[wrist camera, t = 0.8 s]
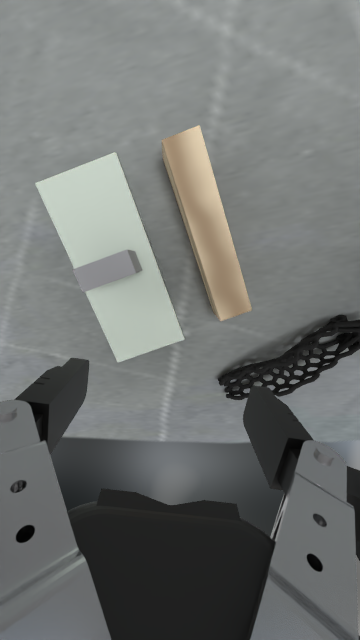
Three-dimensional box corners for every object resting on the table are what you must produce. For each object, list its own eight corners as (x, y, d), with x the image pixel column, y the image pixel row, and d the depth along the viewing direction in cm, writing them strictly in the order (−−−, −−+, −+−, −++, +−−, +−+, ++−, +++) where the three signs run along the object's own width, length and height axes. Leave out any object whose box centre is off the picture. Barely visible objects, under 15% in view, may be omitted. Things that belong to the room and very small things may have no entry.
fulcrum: (117, 155, 28) (100, 122, 21) (184, 337, 34) (187, 356, 27) (39, 185, 28) (-2, 163, 22) (119, 359, 34) (107, 384, 28)
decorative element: (227, 396, 37) (237, 422, 31) (213, 371, 36) (222, 392, 30) (362, 331, 35) (399, 346, 30) (353, 302, 34) (390, 311, 28)
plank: (194, 147, 28) (199, 125, 23) (240, 302, 33) (252, 310, 28) (162, 160, 28) (161, 140, 24) (213, 312, 34) (220, 321, 29)
